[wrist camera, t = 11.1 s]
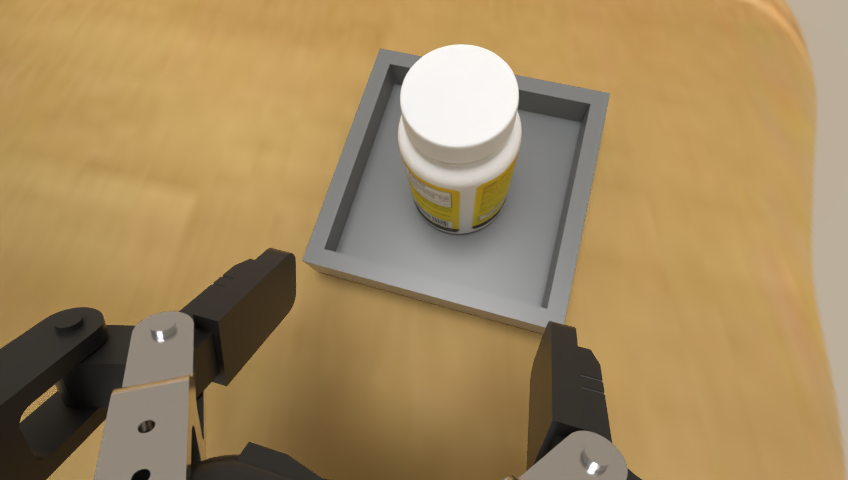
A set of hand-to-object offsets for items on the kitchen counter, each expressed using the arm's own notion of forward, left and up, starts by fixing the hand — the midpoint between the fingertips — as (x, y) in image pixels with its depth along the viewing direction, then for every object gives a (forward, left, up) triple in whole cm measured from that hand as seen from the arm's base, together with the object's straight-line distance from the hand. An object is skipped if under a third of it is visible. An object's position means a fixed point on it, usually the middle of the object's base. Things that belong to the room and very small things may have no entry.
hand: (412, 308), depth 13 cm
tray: (0, +7, -8) cm, 11 cm away
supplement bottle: (0, +7, -8) cm, 11 cm away
